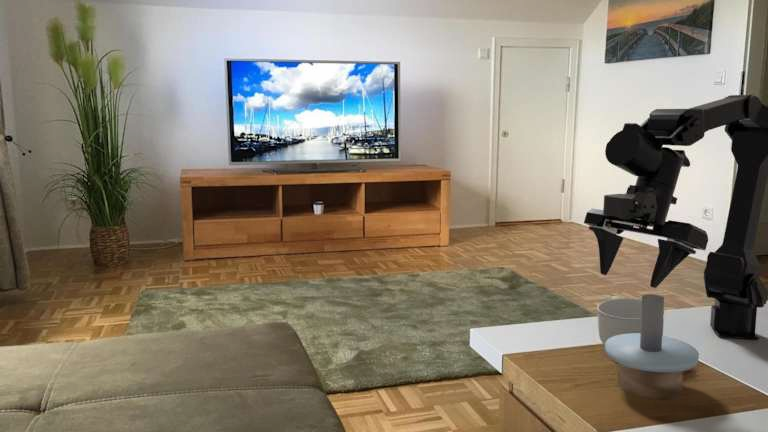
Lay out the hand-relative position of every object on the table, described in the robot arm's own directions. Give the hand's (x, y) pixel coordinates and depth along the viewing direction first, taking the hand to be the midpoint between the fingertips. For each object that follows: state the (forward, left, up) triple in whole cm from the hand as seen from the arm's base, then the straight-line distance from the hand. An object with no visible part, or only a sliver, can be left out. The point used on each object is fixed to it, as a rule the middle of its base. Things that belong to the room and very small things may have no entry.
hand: (627, 280), depth 99 cm
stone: (-3, +5, -15) cm, 16 cm away
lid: (-3, +5, -10) cm, 12 cm away
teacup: (-2, -11, -15) cm, 19 cm away
